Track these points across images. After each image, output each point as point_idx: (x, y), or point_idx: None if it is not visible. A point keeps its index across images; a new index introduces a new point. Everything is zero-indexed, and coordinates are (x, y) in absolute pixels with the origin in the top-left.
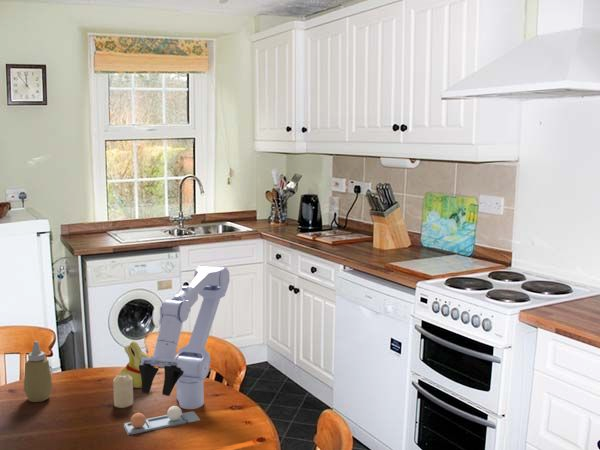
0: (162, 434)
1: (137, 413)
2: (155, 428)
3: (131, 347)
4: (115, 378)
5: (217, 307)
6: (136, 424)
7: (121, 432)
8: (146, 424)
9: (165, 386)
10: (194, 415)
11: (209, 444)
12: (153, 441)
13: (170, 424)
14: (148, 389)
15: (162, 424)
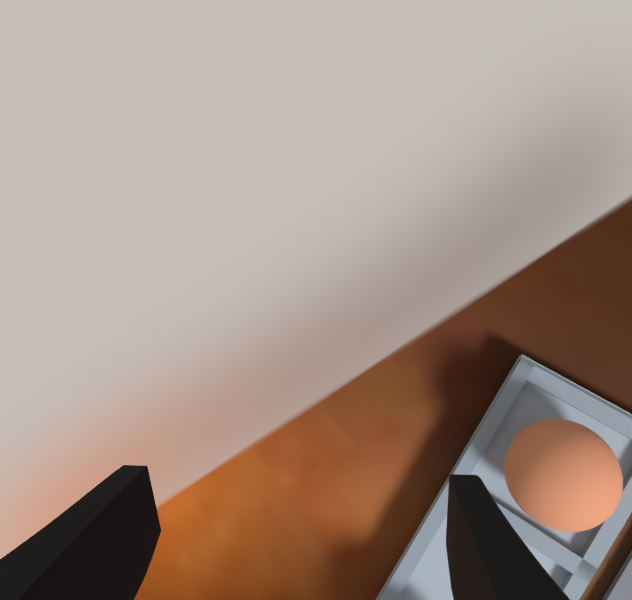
0: (387, 498)
1: (577, 484)
2: (435, 501)
3: None
4: None
5: None
6: (527, 427)
7: (625, 388)
8: (538, 524)
9: (60, 516)
10: None
11: None
12: (370, 407)
13: (386, 586)
14: (454, 570)
15: (446, 576)
